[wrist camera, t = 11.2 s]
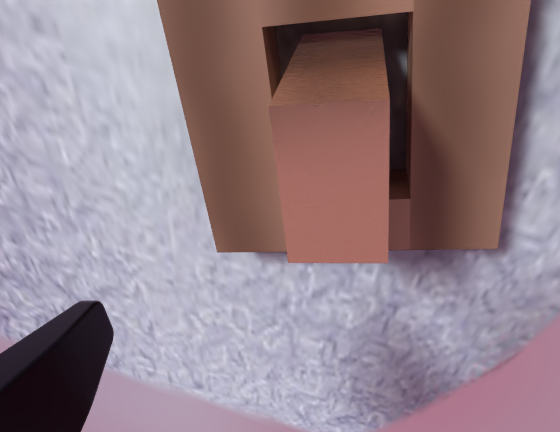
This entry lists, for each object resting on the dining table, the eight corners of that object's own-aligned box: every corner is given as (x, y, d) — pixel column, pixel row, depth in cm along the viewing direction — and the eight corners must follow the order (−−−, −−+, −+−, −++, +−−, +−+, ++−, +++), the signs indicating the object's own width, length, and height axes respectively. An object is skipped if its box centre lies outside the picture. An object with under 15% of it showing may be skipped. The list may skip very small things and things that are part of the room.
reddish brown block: (381, 28, 18) (389, 99, 12) (381, 148, 21) (388, 262, 14) (302, 34, 19) (268, 105, 12) (312, 151, 22) (288, 262, 15)
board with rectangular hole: (520, -98, 16) (543, -98, 14) (485, 215, 22) (497, 248, 20) (172, -49, 18) (146, -42, 16) (230, 222, 24) (217, 252, 22)
